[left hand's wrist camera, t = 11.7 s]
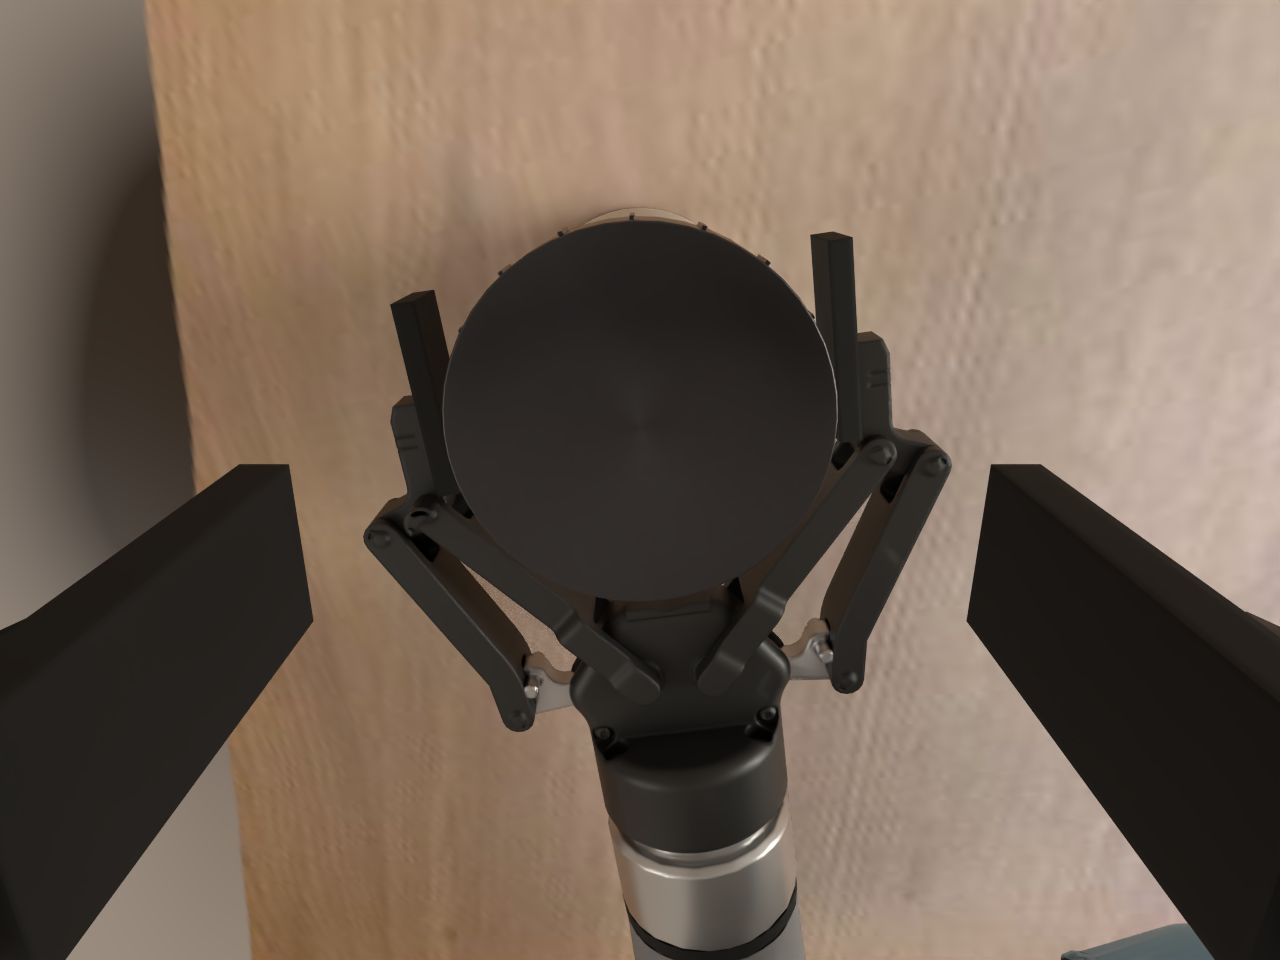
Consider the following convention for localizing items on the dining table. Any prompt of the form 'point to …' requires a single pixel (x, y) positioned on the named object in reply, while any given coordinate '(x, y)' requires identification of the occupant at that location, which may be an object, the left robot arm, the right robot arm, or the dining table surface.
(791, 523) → the lid
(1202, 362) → the dining table surface
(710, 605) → the right robot arm
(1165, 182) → the dining table surface
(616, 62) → the dining table surface
